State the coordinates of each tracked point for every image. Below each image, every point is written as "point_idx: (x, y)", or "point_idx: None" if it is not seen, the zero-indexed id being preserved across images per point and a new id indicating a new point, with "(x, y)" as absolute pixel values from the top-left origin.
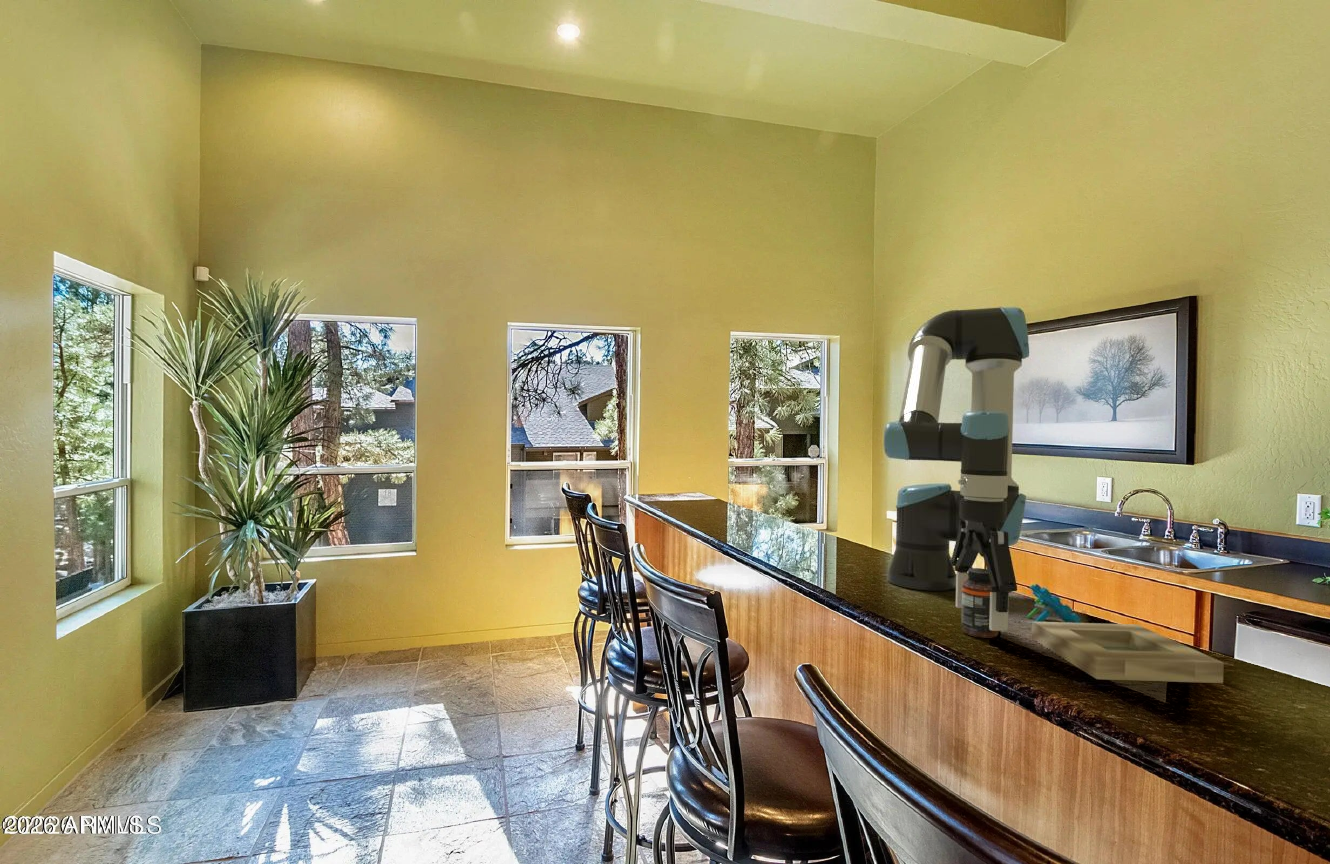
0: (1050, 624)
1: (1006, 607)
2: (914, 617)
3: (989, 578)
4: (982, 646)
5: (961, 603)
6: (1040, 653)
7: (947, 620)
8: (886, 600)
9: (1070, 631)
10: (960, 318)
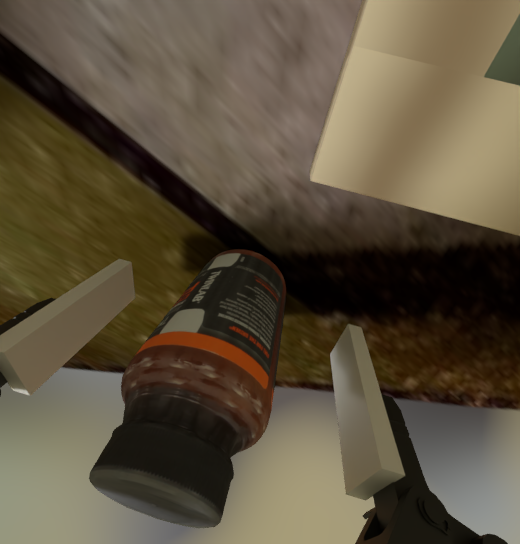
0: (373, 118)
1: (399, 421)
2: (134, 329)
3: (229, 472)
4: (324, 334)
5: (125, 295)
6: (422, 249)
7: (144, 283)
8: (20, 307)
9: (509, 100)
10: None
